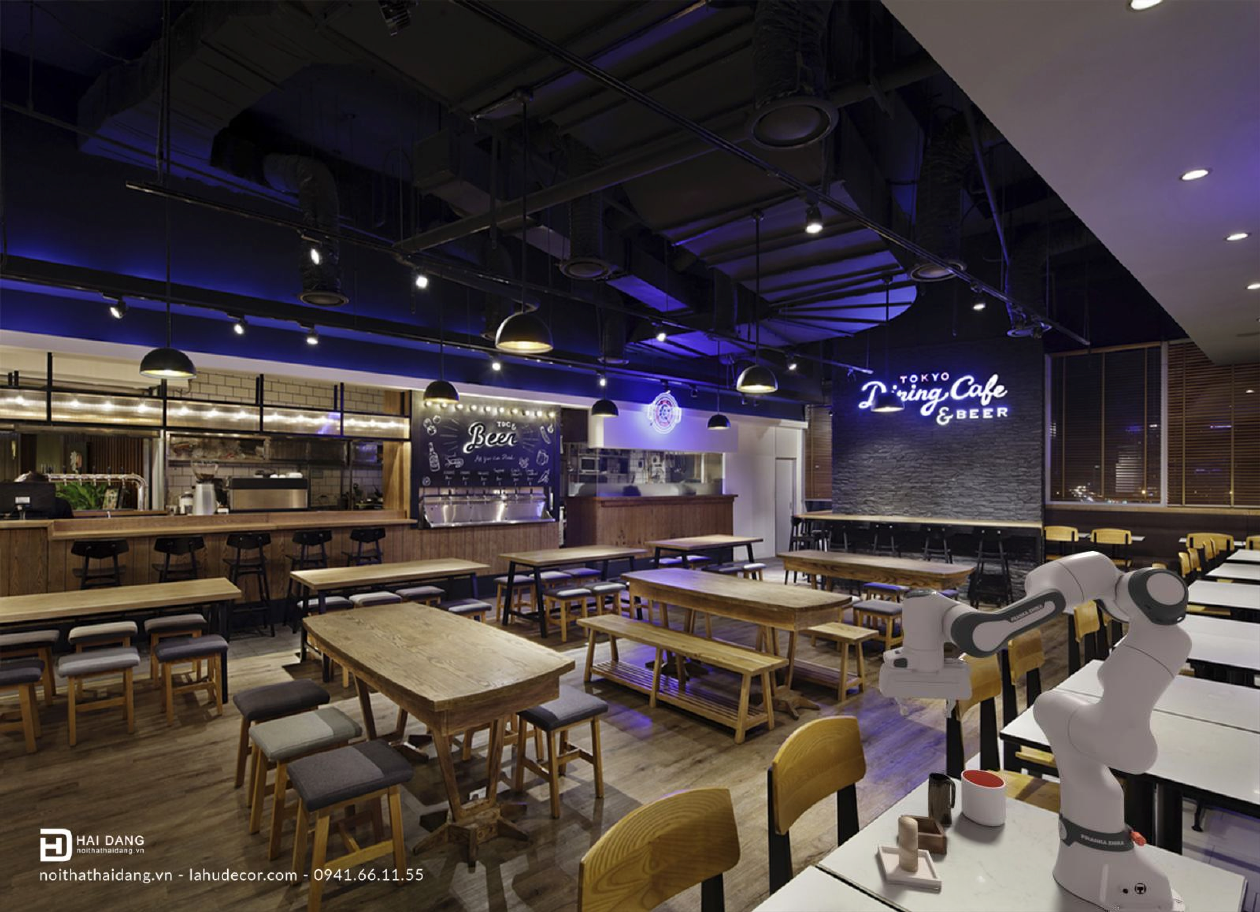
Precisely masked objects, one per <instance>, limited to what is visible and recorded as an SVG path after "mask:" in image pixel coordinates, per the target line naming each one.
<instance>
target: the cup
mask: <svg viewBox="0 0 1260 912" xmlns="http://www.w3.org/2000/svg"><path fill="white" fill-rule="evenodd" d="M960 773H961V774H960V777H961V778H960V779H961V781H960V783H961V784H960V785H961V789H960V790H961V793H960V794H961V803H960V805H961V810H962V813H963V814H964V815H965V816H966V817H967V818H968V819H969V820H971V821H972V822H974V823H977V824H980V825H981V826H982V825H983V826H987V827H998V826H1002V825H1003V824H1004V823H1005V822H1006V819H1007V809H1006V807H1007V804H1006V800H1007V797H1006V791H1007V790H1006V781H1005V780H1004V779H1003V778H1002V777H1000V776H998V775H997V774H995V773H993V772H989V771H986V770H980V769H965V770H963V771H962V772H960Z"/></svg>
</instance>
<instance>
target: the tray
mask: <svg viewBox="0 0 1260 912" xmlns="http://www.w3.org/2000/svg"><path fill="white" fill-rule="evenodd" d="M877 854H878V858H879V861H880V863H881V867H882V870H883V874H884V877H885V881H886V883H887V882H888V883H889V882H890V883H889V884H894V885H896V884H897V885H903V886H911V887H919V888H925V889H926V888H927V889H933V888H938V889H937V890H940V889H942V878H941V877H940V874H939V872H938V870H937V867H936V865H935V863H934V861H933V858H932V856H931V855H930V854H931V853H929V851H928V850H920V849H918V871H917V872H907V871H905V870H903V869H901V868H900V866H899V846H893V845H886V844H885V845H883V844H877Z"/></svg>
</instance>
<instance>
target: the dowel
mask: <svg viewBox="0 0 1260 912" xmlns="http://www.w3.org/2000/svg"><path fill="white" fill-rule="evenodd" d="M897 828H898V829H897V830H898V833H897V835H898V837H897V838H898V847H899V866H900V868H901V869H903V870H905V871H907V872H917V871H918V823H917V821H916V820H914V819H913V818H910V817H901V816H900V817H898V818H897Z"/></svg>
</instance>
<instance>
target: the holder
mask: <svg viewBox="0 0 1260 912" xmlns="http://www.w3.org/2000/svg"><path fill="white" fill-rule="evenodd" d="M900 817H910V818H913V819H914V820H916V821H917V823H918V849H920V850H928V851H929V854H934V855H935V854H936V855H941V856H942V855H946V854H948V841H947V840H948V835H946V833H945V831H944V829H943V828H944V827H942V826H941V824H940V822H939V820H938V819H934V818H933V817H928V816H923V815H922V816H921V815H915V814H914V815H912V814H904V815H903V814H900Z"/></svg>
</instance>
